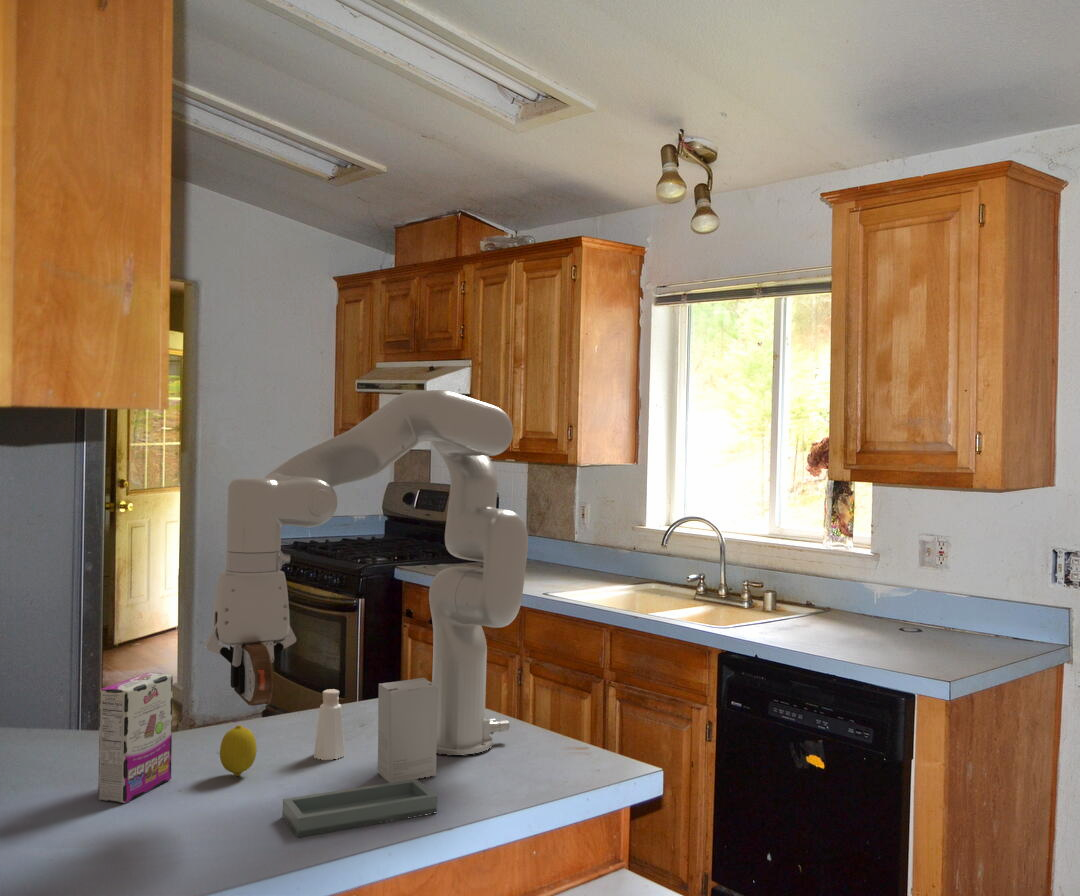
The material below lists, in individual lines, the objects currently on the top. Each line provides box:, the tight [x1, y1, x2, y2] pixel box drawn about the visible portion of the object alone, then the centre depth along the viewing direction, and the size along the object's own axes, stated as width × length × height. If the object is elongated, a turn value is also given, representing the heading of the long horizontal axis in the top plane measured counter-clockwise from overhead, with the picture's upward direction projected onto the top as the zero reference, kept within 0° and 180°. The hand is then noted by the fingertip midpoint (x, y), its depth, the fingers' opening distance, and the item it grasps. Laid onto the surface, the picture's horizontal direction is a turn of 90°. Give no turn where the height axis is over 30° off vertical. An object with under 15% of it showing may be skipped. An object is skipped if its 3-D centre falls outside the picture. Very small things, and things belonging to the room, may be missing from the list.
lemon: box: [219, 724, 258, 777], centre depth 149 cm, size 6×6×8 cm
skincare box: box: [377, 677, 438, 783], centre depth 151 cm, size 8×6×15 cm
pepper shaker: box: [313, 688, 345, 761], centre depth 160 cm, size 5×5×11 cm
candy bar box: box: [97, 672, 174, 804], centre depth 142 cm, size 11×5×16 cm, turn 167°
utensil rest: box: [281, 779, 438, 838], centre depth 134 cm, size 20×8×2 cm, turn 119°
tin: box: [235, 643, 274, 707], centre depth 136 cm, size 15×3×8 cm, turn 31°
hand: (250, 689), depth 136 cm, fingers closed on tin, 2 cm apart
